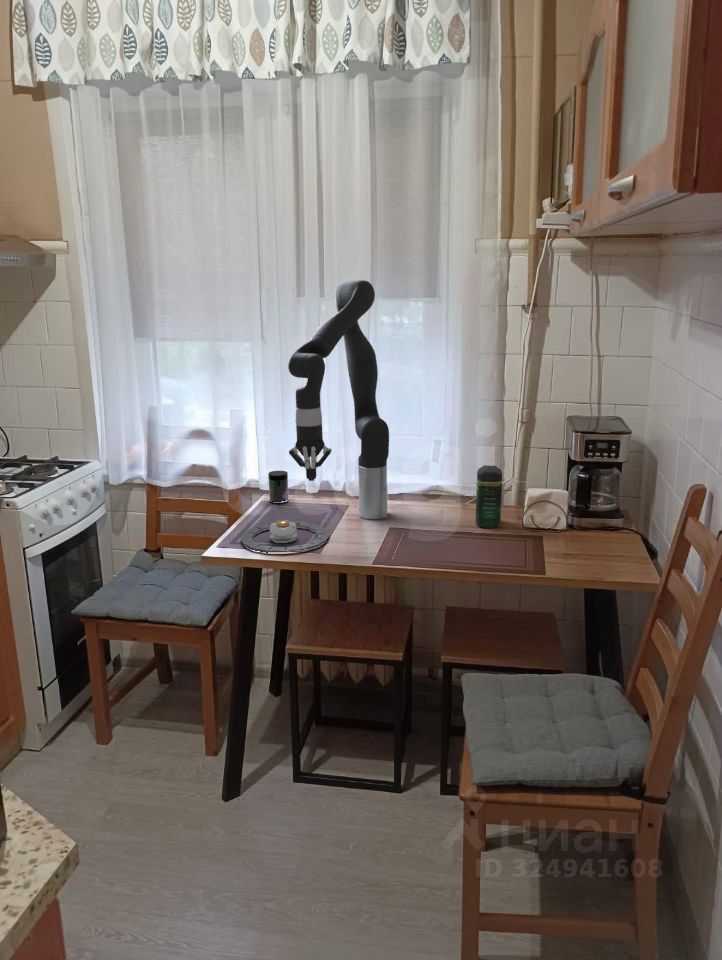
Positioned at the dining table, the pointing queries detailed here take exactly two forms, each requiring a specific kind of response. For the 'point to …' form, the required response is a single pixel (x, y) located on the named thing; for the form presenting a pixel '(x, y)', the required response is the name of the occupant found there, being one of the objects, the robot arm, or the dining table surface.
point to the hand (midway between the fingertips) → (311, 480)
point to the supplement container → (278, 486)
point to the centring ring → (252, 545)
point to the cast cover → (283, 530)
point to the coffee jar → (488, 496)
